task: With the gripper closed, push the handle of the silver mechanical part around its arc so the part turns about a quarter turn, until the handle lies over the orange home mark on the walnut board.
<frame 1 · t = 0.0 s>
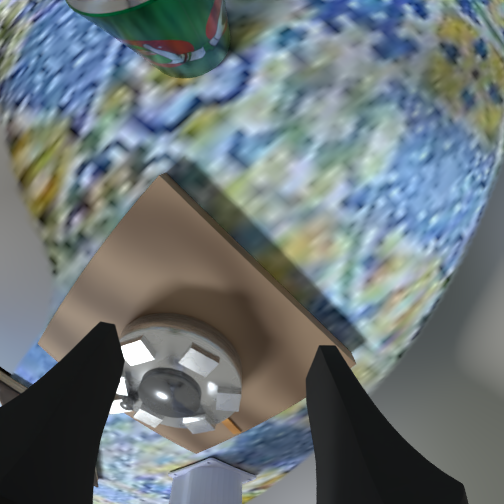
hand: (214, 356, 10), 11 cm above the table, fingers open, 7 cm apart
walnut board: (180, 353, 23), on the table
soda can: (191, 45, 15), on the table
silver mechanical part: (127, 392, 20), point 3 cm above the table, hinge at 0.0°
hardcover book: (52, 432, 31), on the table
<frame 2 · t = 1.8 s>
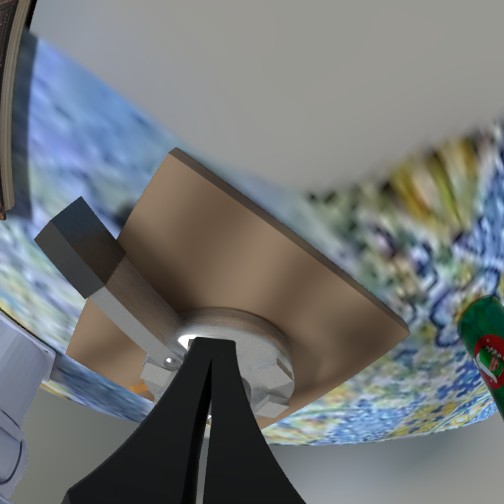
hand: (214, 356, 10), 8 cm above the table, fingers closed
walnut board: (221, 342, 21), on the table
soda can: (475, 312, 21), on the table
silver mechanical part: (172, 340, 17), point 3 cm above the table, hinge at 0.0°
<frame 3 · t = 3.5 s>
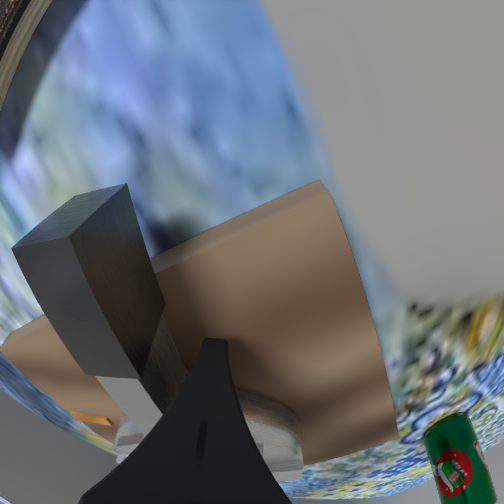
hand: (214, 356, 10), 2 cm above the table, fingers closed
walnut board: (212, 406, 16), on the table
soda can: (443, 422, 21), on the table
silver mechanical part: (182, 421, 11), point 3 cm above the table, hinge at 1.1°, touching gripper
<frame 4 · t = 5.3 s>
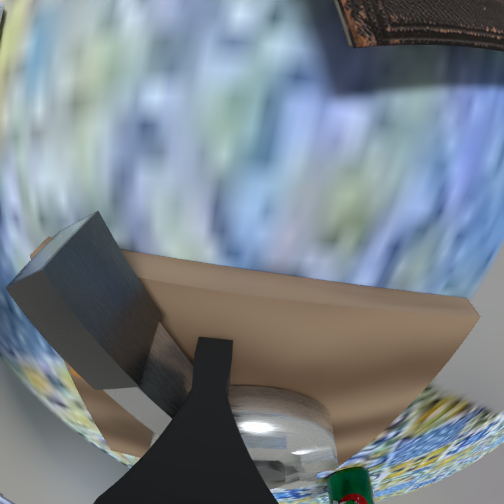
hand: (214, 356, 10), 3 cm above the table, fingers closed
walnut board: (243, 406, 16), on the table
soda can: (346, 471, 26), on the table
silver mechanical part: (205, 424, 11), point 3 cm above the table, hinge at 50.1°, touching gripper
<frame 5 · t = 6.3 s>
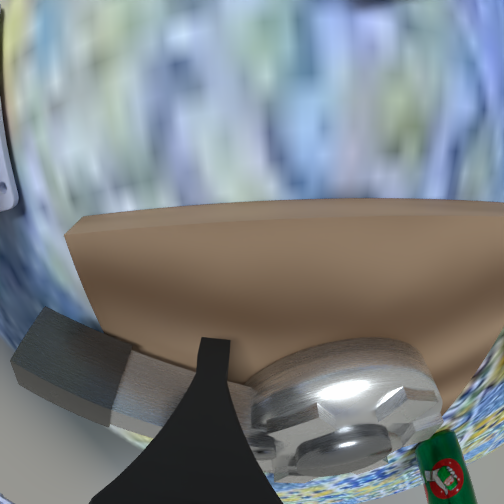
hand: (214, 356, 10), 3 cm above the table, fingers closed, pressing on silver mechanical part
walnut board: (328, 377, 15), on the table
soda can: (433, 437, 23), on the table
silver mechanical part: (253, 421, 11), point 3 cm above the table, hinge at 82.4°, touching gripper
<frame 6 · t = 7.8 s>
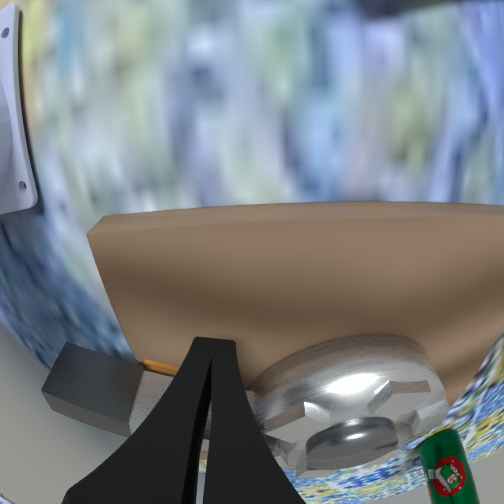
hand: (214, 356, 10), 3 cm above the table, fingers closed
walnut board: (336, 373, 15), on the table
soda can: (436, 436, 23), on the table
silver mechanical part: (259, 422, 12), point 3 cm above the table, hinge at 93.2°
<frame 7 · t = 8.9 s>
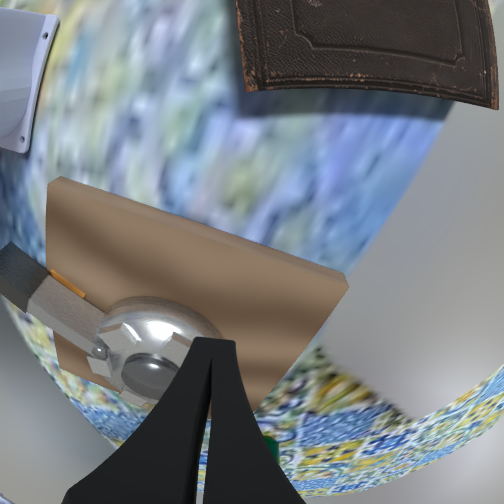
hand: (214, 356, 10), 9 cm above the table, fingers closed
walnut board: (166, 331, 22), on the table
silver mechanical part: (101, 333, 18), point 3 cm above the table, hinge at 93.2°
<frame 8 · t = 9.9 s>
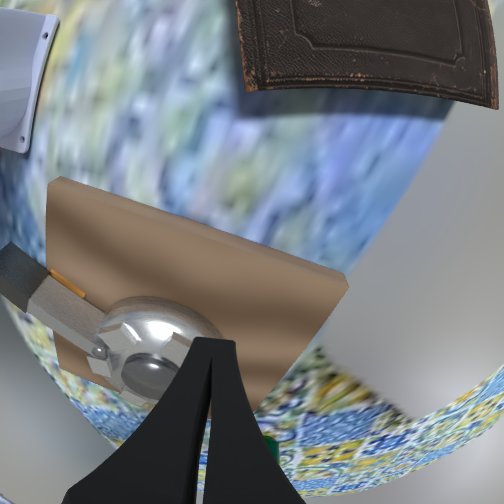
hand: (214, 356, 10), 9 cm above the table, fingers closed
walnut board: (166, 331, 22), on the table
silver mechanical part: (101, 333, 18), point 3 cm above the table, hinge at 93.2°
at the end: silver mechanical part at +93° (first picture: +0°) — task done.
